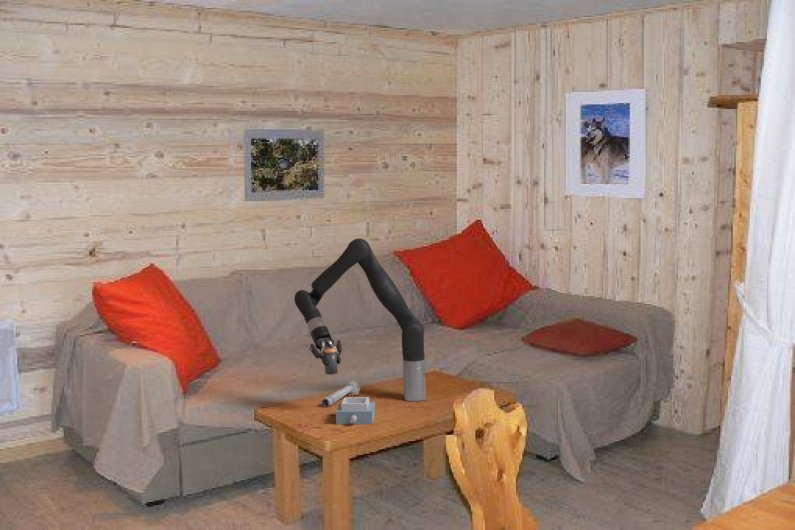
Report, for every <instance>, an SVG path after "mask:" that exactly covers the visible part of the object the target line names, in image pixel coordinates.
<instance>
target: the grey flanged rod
mask: <svg viewBox="0 0 795 530" xmlns="http://www.w3.org/2000/svg"><path fill="white" fill-rule="evenodd" d="M360 390H361V387H360V386H359V384H358V381H356V380H352V381H349V382H348V385H345V386H344V387H342V388H340V389H338V390H336V391H334V392H332V393H331V394H327V395H326V396H325V398H323V399H322V400H321V401H320V402H321V406H322V405H326V406H329V407H331V406H332V405H331V404H333V405H334V404H335V403H336V402H338V401H339V400H341V399H343V398H344V397H346V395H348V393H349V394H358V393H359V392H360ZM359 394H360V393H359ZM330 405H331V406H330Z"/></svg>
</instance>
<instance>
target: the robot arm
mask: <svg viewBox="0 0 795 530" xmlns="http://www.w3.org/2000/svg"><path fill="white" fill-rule="evenodd" d="M376 257H377V256H375V253H374V252H373V250H372V247H371V245H370V244H369V243H368V241H367V240H365V239H364V238H358V237H357V238H355V239H353V240H350V242H349V243H348V244H347V247H346V248H345V250H344V251H343V252H342V254H341V255H340V256H339V257H338V258H337V259H336V260H335V261H334V262H333V263H332V264H331V265H330V266H328V267H327V268H326V269H324V271H323V272H322V273H320V274H319V275H318V276H317V277H316V278H315V279H314V280H313V281H312V282H311V289H312V290H311V291H310V292H309V291H307V290H305V289H300V290H297V291H296V292H295V294H294V304H295V306H296V307H297V309H298V310H299V313H300V314H301V315H302V316H303V318H304V320H305V324H306V325H307V330H308V332H309V334H310V336H311V339H312V341H313V343H311V344H310V345H309V348H308V349H309V350H310V352H311V353H312V355H313V356H314V358H316V359H320V360H321V362H322V364H323V366H324V367H325V366H327V365H328V361H327V359H326V356H324V349H325V348H337V365H340V363H341V361H342V358H341V356H340V355H341V354H342V352H343V349H342V343H341V340H340V339H338V340H334V339H333V338H332V336H331V333H330V330H329V328H328V326H327V323H326V322H325V320H324V319H323V316H322V314H321V311H320V310H319V309H318V308H317V305H319V303H320V301H321V300H322V299H323V297H324V294H325V293H326V292H328V291H329V290H330V289H331V288H332V287H333V286H334V285H335V284H336V283H337V282H338V281H339V279H341V278H342V276H343V275H344V274H345V273H346V272H347V271H349V270H350V269H351V268H352V267H353V266H355V265H357V264H358V265H359V266H360V267H361V269H362V271H363V272H364V273H365V275H366V278H367V281H368V283H369V286H370V288H371V289H372V292H373V293H374V294H375V296H376V298H377V299H378V302H380V303H381V305H382V306H383V307H384V308H385V310H387V311H388V313H390V314H391V316H393V317H394V319H395V320H396V322H397V324H398V326H399V327H400V329H401V349H402V350H401V352H402V369H403V371H402V372H403V376H402V377H403V399H404V400H405V401H408V402H421V401H426V399H427V398H426V397H427V394H426V391H427V390H426V385H427V384H426V367H425V365H426V363H425V362H426V361H425V356H426V355H425V342H424V341H425V339H424V336H425V328H424V326H423V324H422V323H421V322H420V320H419V319H418V318H417V317H416V316H415V315H414V313H413V312H412V311H411V310H410V308H409V306H408V304H407V303H406V301H405V299H404V298H403V296H402V294H401V292H400V290H399V288H398V287H397V286H396V284H395V283H394V281H393V280H392V278H391V276H389V274H388V273H387V272H386V270H385V269H384V268H383V267H382V265H381V263H380V262H379V261H378V259H377V258H376Z"/></svg>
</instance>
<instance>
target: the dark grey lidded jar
mask: <svg viewBox="0 0 795 530" xmlns="http://www.w3.org/2000/svg"><path fill="white" fill-rule="evenodd" d="M324 356H326V359H327V361H328V365H327V366H325V365H324V374H325V375H336V374H338V364H337V348H336V347H335V348H325V349H324Z"/></svg>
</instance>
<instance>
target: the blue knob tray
mask: <svg viewBox="0 0 795 530" xmlns="http://www.w3.org/2000/svg"><path fill="white" fill-rule="evenodd" d="M375 416H376V402H375V401H370V396H367V397H365V396H364V397H362V396H360V397H358V396H356V397H355V396H349V397H347V396H344V397H343V398H342V401H341V402H339V404H338V407H337V408H336V410H335V424H336V425H373V424H374V423H373V422H374V419H375Z"/></svg>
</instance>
